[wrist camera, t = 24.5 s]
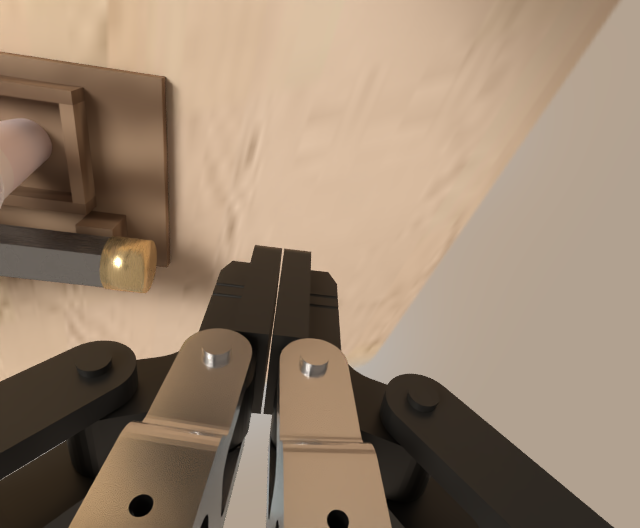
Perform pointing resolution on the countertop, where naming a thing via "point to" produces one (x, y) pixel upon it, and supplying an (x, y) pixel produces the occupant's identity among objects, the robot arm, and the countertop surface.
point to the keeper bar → (77, 258)
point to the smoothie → (20, 152)
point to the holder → (91, 150)
